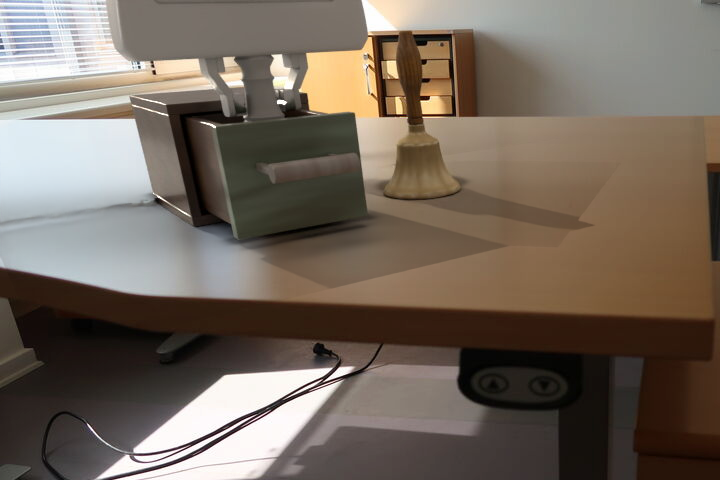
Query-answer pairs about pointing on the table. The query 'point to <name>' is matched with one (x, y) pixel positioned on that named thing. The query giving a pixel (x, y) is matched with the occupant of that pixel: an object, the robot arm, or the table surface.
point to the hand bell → (416, 137)
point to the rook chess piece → (259, 88)
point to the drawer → (276, 170)
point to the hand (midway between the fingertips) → (263, 113)
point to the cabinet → (176, 147)
